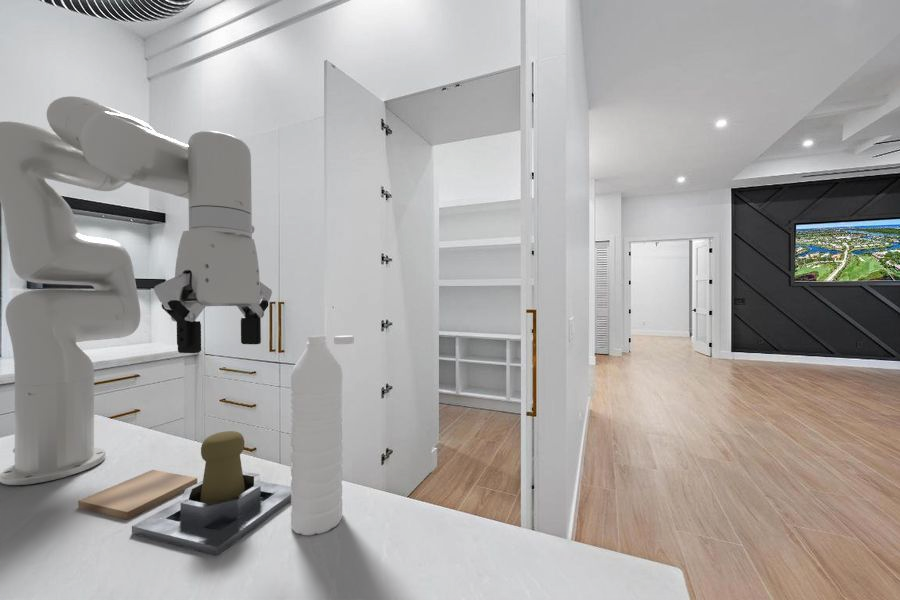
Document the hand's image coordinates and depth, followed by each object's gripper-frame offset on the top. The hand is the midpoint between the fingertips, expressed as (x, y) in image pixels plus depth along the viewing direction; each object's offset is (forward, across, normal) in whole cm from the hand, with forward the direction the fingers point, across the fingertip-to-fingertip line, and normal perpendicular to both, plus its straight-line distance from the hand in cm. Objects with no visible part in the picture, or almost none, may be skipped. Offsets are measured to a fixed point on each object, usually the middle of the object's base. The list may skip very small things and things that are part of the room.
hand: (222, 348), depth 51 cm
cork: (+23, 0, 0) cm, 23 cm away
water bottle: (+24, -2, +15) cm, 28 cm away
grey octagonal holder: (+23, 0, 0) cm, 23 cm away
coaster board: (+23, 0, -16) cm, 28 cm away
